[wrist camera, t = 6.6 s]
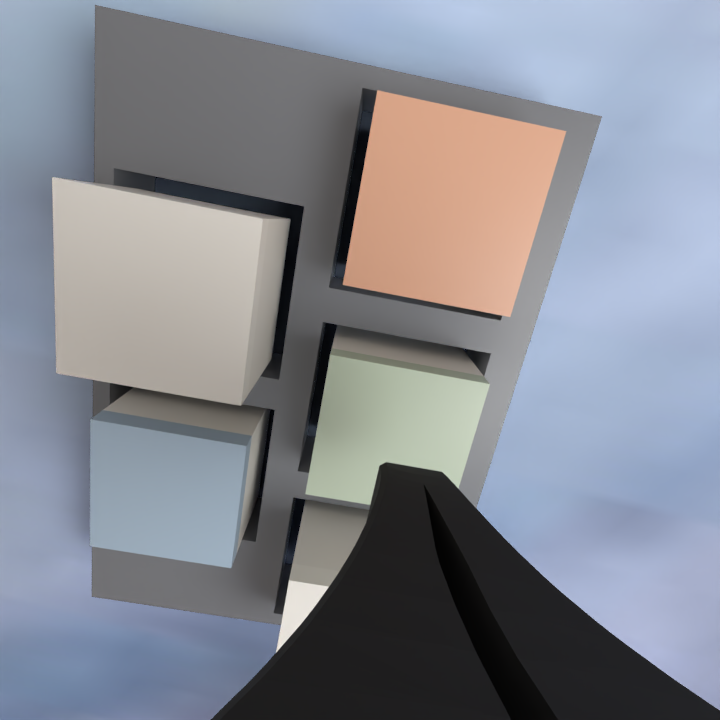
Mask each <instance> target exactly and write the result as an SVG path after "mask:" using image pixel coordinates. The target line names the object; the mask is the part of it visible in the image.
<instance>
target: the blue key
mask: <svg viewBox="0 0 720 720" xmlns="http://www.w3.org/2000/svg"><path fill="white" fill-rule="evenodd" d="M269 416H270V409H267V408H262V407H256V406H250V405H244V404H242V405H241V406H239V405H233V404H227V403H221V402H216V401H210V400H204V399H199V398H193V397H187V396H182V395H176V394H170V393H165V392H159V391H153V390H148V389H142V388H136V387H134V388H132V389H131V390H129V391H128V392H127V393H125V394H124V395H123V396H121V397H120V398H119V399H117V400H116V401H115V402H113V403H112V404H110V405H109V406H108V407H106V408H105V409H104V410H102V411H101V412H100V413H98V414H97V415H95V416H94V417H93V418H91V419H90V546H92V547H98V548H105V549H111V550H117V551H124V552H130V553H137V554H143V555H149V556H156V557H162V558H169V559H175V560H181V561H188V562H194V563H201V564H207V565H213V566H220V567H226V568H231V567H232V565H233V562H234V559H235V557H236V554H237V552H238V549H239V546H240V544H241V541H242V538H243V536H244V533H245V530H246V528H247V525H248V522H249V520H250V517H251V514H252V512H253V509H254V506H255V504H256V501H257V498H258V495H259V487H260V480H261V473H262V466H263V459H264V452H265V445H266V438H267V431H268V423H269Z"/></svg>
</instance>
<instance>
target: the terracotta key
mask: <svg viewBox="0 0 720 720" xmlns="http://www.w3.org/2000/svg"><path fill="white" fill-rule="evenodd" d="M565 134H566V131H563V130H558V129H554V128H549V127H544V126H540V125H535V124H531V123H526V122H521V121H517V120H512V119H508V118H503V117H498V116H494V115H489V114H485V113H480V112H475V111H471V110H466V109H462V108H457V107H452V106H448V105H443V104H439V103H434V102H429V101H425V100H420V99H415V98H411V97H406V96H402V95H397V94H392V93H388V92H383V91H379V90H377V95H376V101H375V106H374V112H373V118H372V123H371V129H370V134H369V140H368V146H367V151H366V157H365V162H364V168H363V174H362V179H361V185H360V190H359V196H358V202H357V207H356V213H355V218H354V224H353V230H352V235H351V241H350V246H349V252H348V258H347V263H346V269H345V274H344V280H343V285H346V286H351V287H356V288H362V289H367V290H372V291H377V292H382V293H387V294H393V295H398V296H403V297H408V298H413V299H419V300H424V301H429V302H434V303H439V304H445V305H450V306H455V307H460V308H465V309H470V310H476V311H481V312H486V313H491V314H496V315H502V316H507V317H510V316H511V313H512V310H513V306H514V303H515V300H516V296H517V293H518V290H519V287H520V283H521V280H522V277H523V273H524V270H525V267H526V263H527V260H528V257H529V253H530V250H531V247H532V243H533V240H534V237H535V233H536V230H537V227H538V224H539V220H540V217H541V214H542V210H543V207H544V204H545V200H546V197H547V194H548V190H549V187H550V184H551V180H552V177H553V174H554V171H555V167H556V164H557V161H558V157H559V154H560V151H561V147H562V144H563V141H564V137H565Z"/></svg>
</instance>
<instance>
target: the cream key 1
mask: <svg viewBox="0 0 720 720" xmlns="http://www.w3.org/2000/svg"><path fill="white" fill-rule="evenodd" d="M52 197H53V244H54V290H55V336H56V373H57V374H62V375H68V376H74V377H79V378H85V379H91V380H96V381H102V382H108V383H113V384H119V385H125V386H131V387H136V388H142V389H148V390H153V391H159V392H165V393H170V394H176V395H182V396H187V397H193V398H199V399H204V400H210V401H216V402H221V403H227V404H233V405H239V406H241V405H242V403H243V402H244V400H245V399H246V397H247V396H248V394H249V393H250V391H251V390H252V388H253V387H254V385H255V384H256V382H257V380H258V379H259V377H260V376H261V374H262V373H263V371H264V370H265V368H266V367H267V365H268V364H269V362H270V361H271V359H272V352H273V345H274V337H275V330H276V323H277V315H278V308H279V301H280V293H281V286H282V279H283V271H284V264H285V257H286V249H287V242H288V235H289V227H290V220H291V219H288V218H283V217H278V216H273V215H268V214H263V213H258V212H253V211H248V210H243V209H238V208H233V207H228V206H223V205H218V204H213V203H208V202H203V201H198V200H193V199H188V198H183V197H178V196H173V195H168V194H163V193H158V192H153V191H148V190H143V189H137V188H130V187H122V186H115V185H107V184H100V183H93V182H85V181H78V180H71V179H63V178H56V177H52Z"/></svg>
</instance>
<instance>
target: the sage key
mask: <svg viewBox="0 0 720 720" xmlns="http://www.w3.org/2000/svg"><path fill="white" fill-rule="evenodd" d="M489 386H490V384H489V382H488V381H487V380H486V378H485V377H484V376H483V374H482V373H481V372H480V371H479V369H478V368H477V367H476V365H475V364H474V363H473V361H472V360H471V359H470V358H469V356H468V355H467V354H466V352H465V351H464V350H463V349H462V348H459V347H454V346H449V345H443V344H438V343H433V342H427V341H422V340H417V339H411V338H406V337H401V336H395V335H390V334H385V333H379V332H374V331H369V330H363V329H358V328H353V327H347V326H342V325H337V328H336V332H335V337H334V341H333V345H332V349H331V353H330V358H329V364H328V370H327V375H326V381H325V386H324V392H323V398H322V403H321V409H320V414H319V420H318V426H317V431H316V437H315V442H314V448H313V454H312V459H311V465H310V470H309V476H308V482H307V487H306V493H305V494H307V495H313V496H319V497H325V498H331V499H337V500H343V501H349V502H355V503H361V504H367V505H370V504H371V500H372V495H373V491H374V487H375V482H376V478H377V474H378V470H379V466H380V465H382V464H383V463H385V462H389V463H395V464H400V465H406V466H412V467H418V468H423V469H429V470H435V471H441V472H443V473H444V474H445V475H446V476H447V477H448V478H449V479H450V480H451V481H452V482H453V483H454V484H455V486H456V487H457V488H458V489H459V485H460V482H461V479H462V475H463V472H464V469H465V465H466V462H467V459H468V455H469V452H470V449H471V446H472V442H473V439H474V436H475V432H476V429H477V426H478V422H479V419H480V416H481V412H482V409H483V406H484V402H485V399H486V396H487V392H488V389H489Z"/></svg>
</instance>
